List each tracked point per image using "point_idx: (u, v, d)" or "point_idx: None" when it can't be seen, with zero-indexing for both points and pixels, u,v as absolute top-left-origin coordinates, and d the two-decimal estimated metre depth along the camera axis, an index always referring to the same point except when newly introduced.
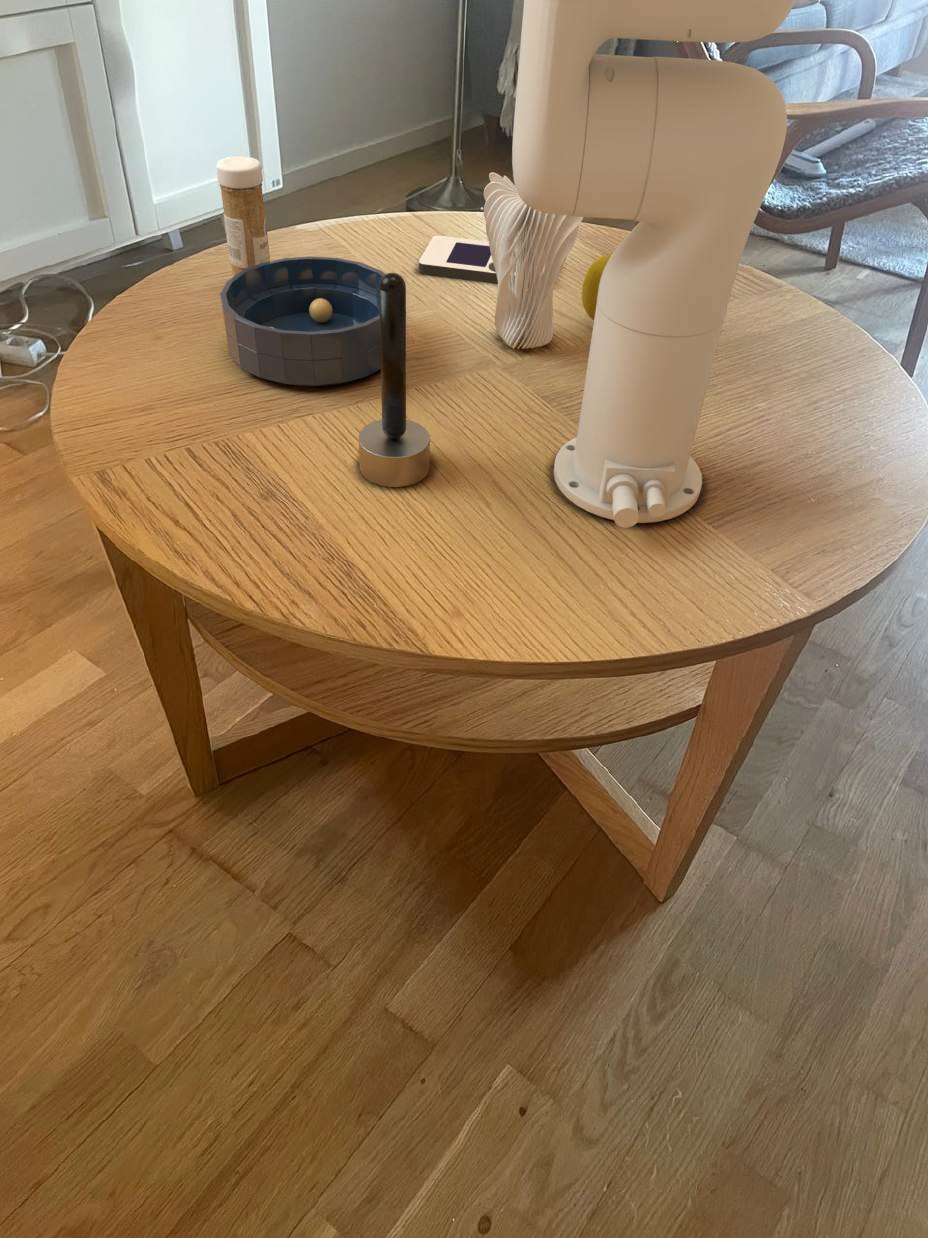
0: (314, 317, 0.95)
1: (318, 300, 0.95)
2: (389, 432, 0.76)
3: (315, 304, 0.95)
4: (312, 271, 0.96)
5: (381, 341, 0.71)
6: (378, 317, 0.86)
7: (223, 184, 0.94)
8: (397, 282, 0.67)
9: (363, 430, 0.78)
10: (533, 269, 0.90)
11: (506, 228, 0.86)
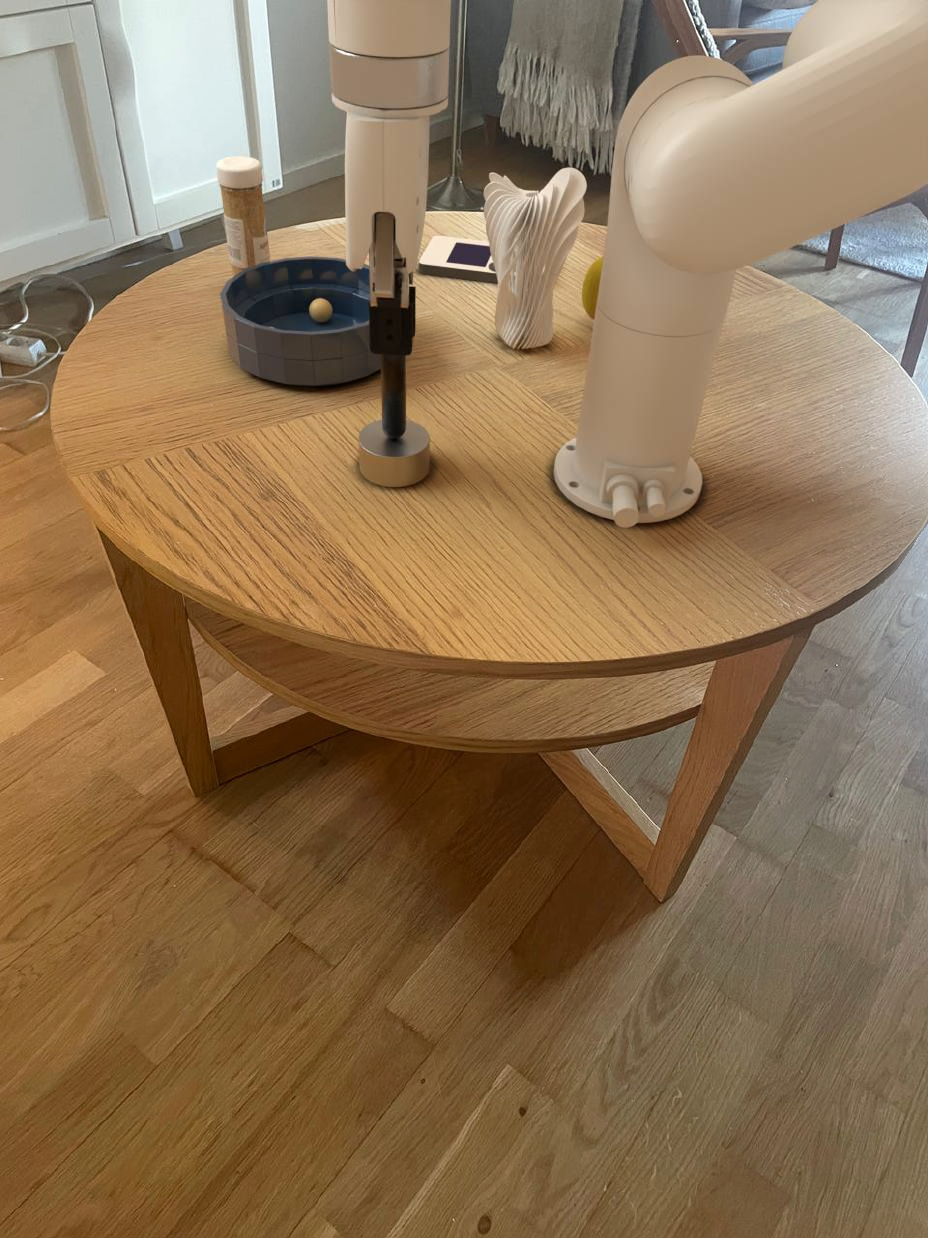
0: (314, 317, 0.95)
1: (318, 300, 0.95)
2: (389, 432, 0.76)
3: (315, 304, 0.95)
4: (312, 271, 0.96)
5: None
6: None
7: (223, 184, 0.94)
8: None
9: (363, 430, 0.78)
10: (533, 269, 0.90)
11: (506, 228, 0.86)
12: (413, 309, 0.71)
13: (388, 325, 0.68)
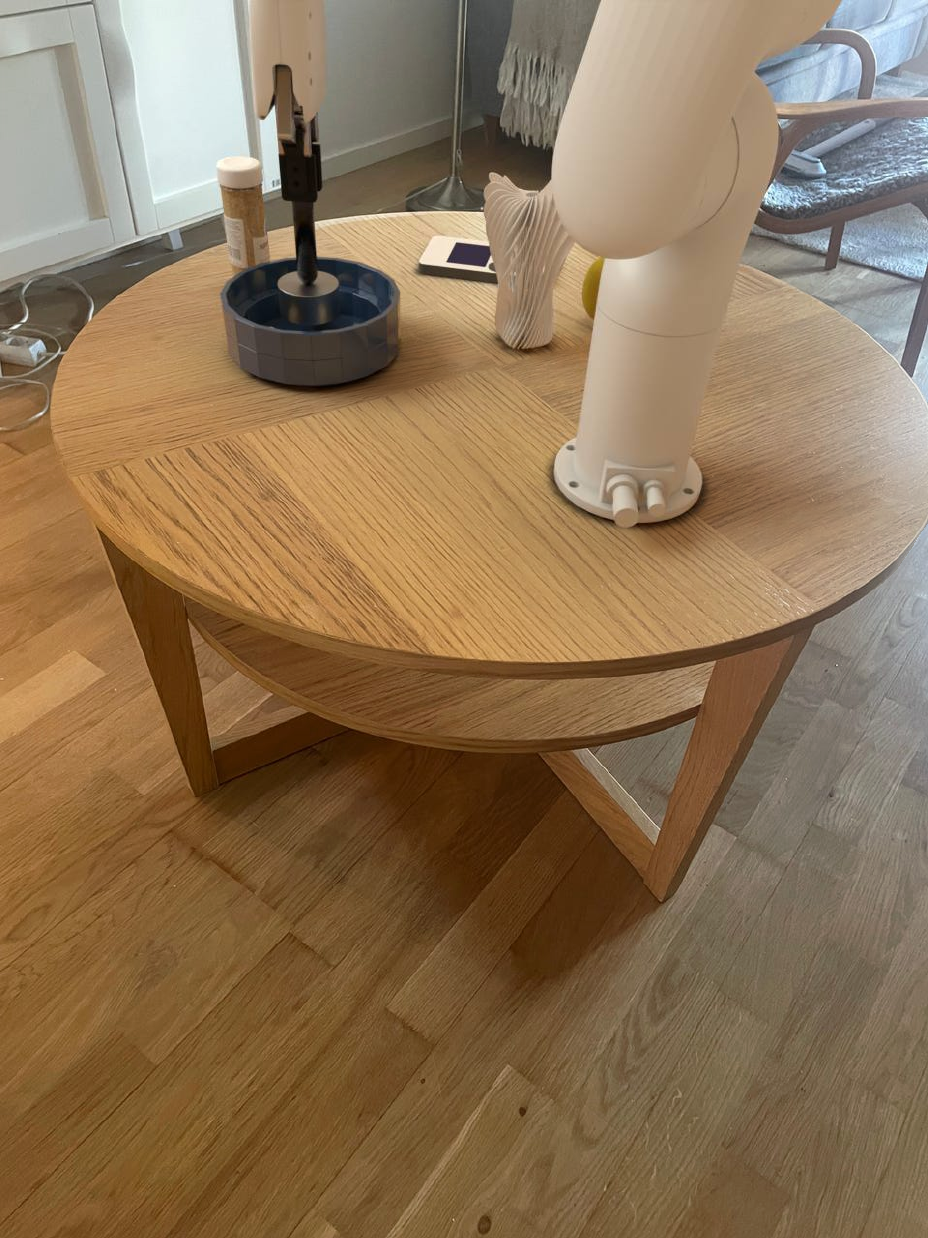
0: None
1: None
2: (303, 276, 0.90)
3: None
4: None
5: None
6: (378, 317, 0.86)
7: (223, 184, 0.94)
8: None
9: (282, 277, 0.92)
10: (533, 269, 0.90)
11: (506, 228, 0.86)
12: (319, 164, 0.84)
13: (295, 172, 0.82)
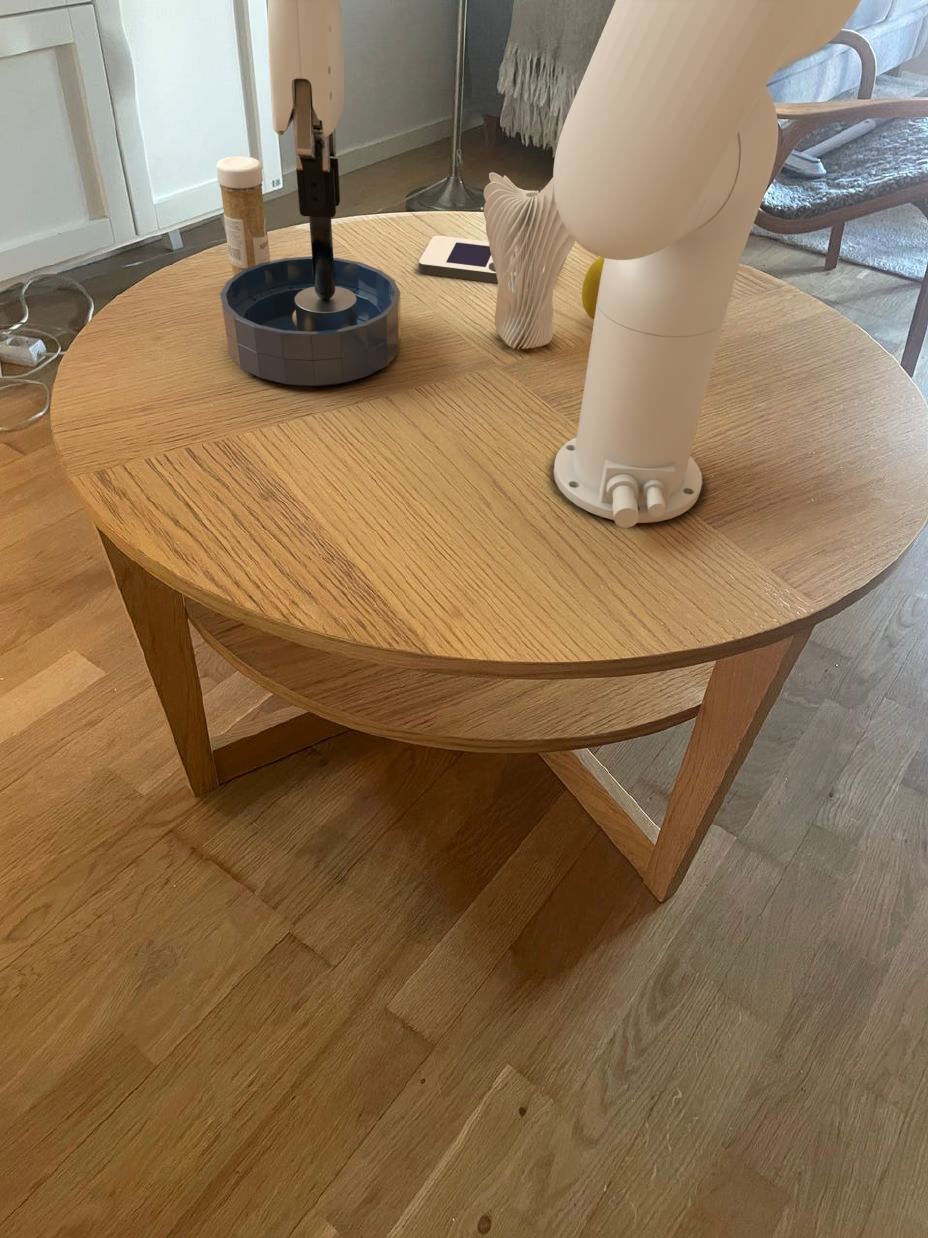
0: None
1: (295, 325, 0.94)
2: (320, 292, 0.88)
3: None
4: (312, 271, 0.96)
5: None
6: (378, 317, 0.86)
7: (223, 184, 0.94)
8: None
9: (299, 293, 0.90)
10: (533, 269, 0.90)
11: (506, 228, 0.86)
12: (336, 179, 0.83)
13: (313, 187, 0.80)
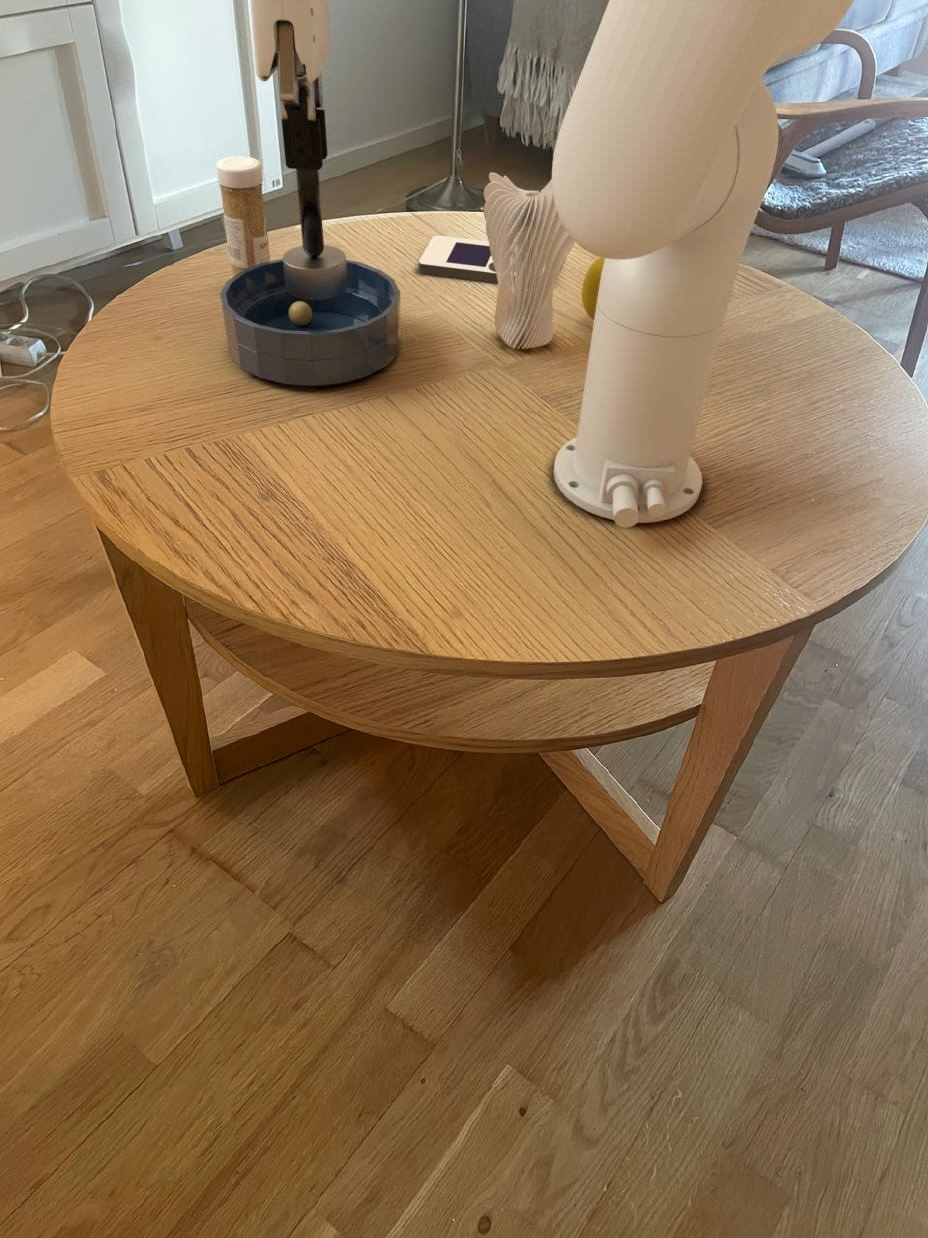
0: None
1: (293, 318, 0.94)
2: (309, 249, 0.87)
3: (296, 323, 0.95)
4: None
5: None
6: (378, 317, 0.86)
7: (223, 184, 0.94)
8: None
9: (287, 252, 0.89)
10: (533, 269, 0.90)
11: (506, 228, 0.86)
12: (323, 130, 0.82)
13: (299, 138, 0.79)
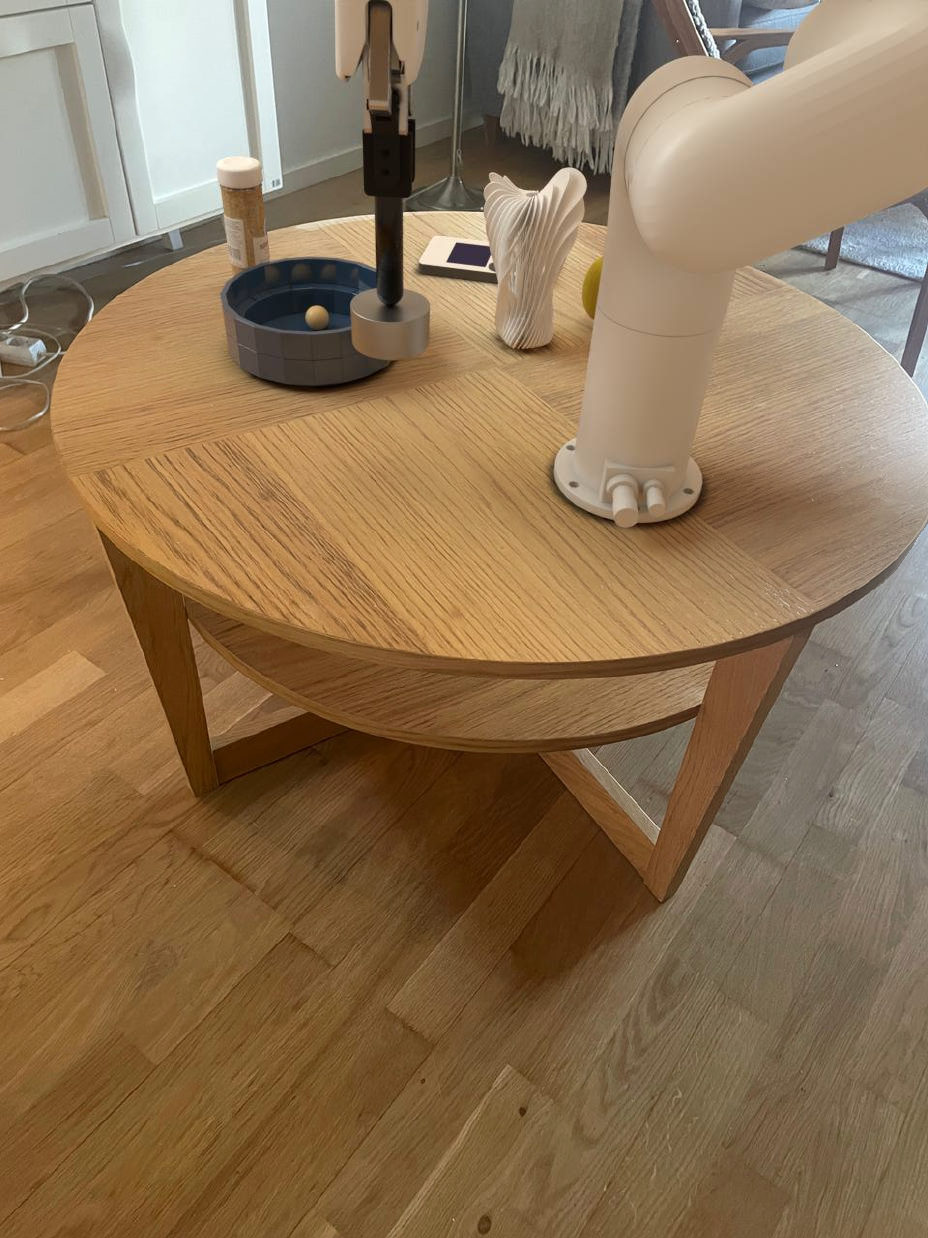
0: None
1: (310, 320, 0.94)
2: (385, 296, 0.68)
3: (306, 320, 0.94)
4: (312, 271, 0.96)
5: None
6: None
7: (223, 184, 0.94)
8: None
9: (355, 297, 0.70)
10: (533, 269, 0.90)
11: (506, 228, 0.86)
12: (413, 147, 0.63)
13: (385, 157, 0.60)
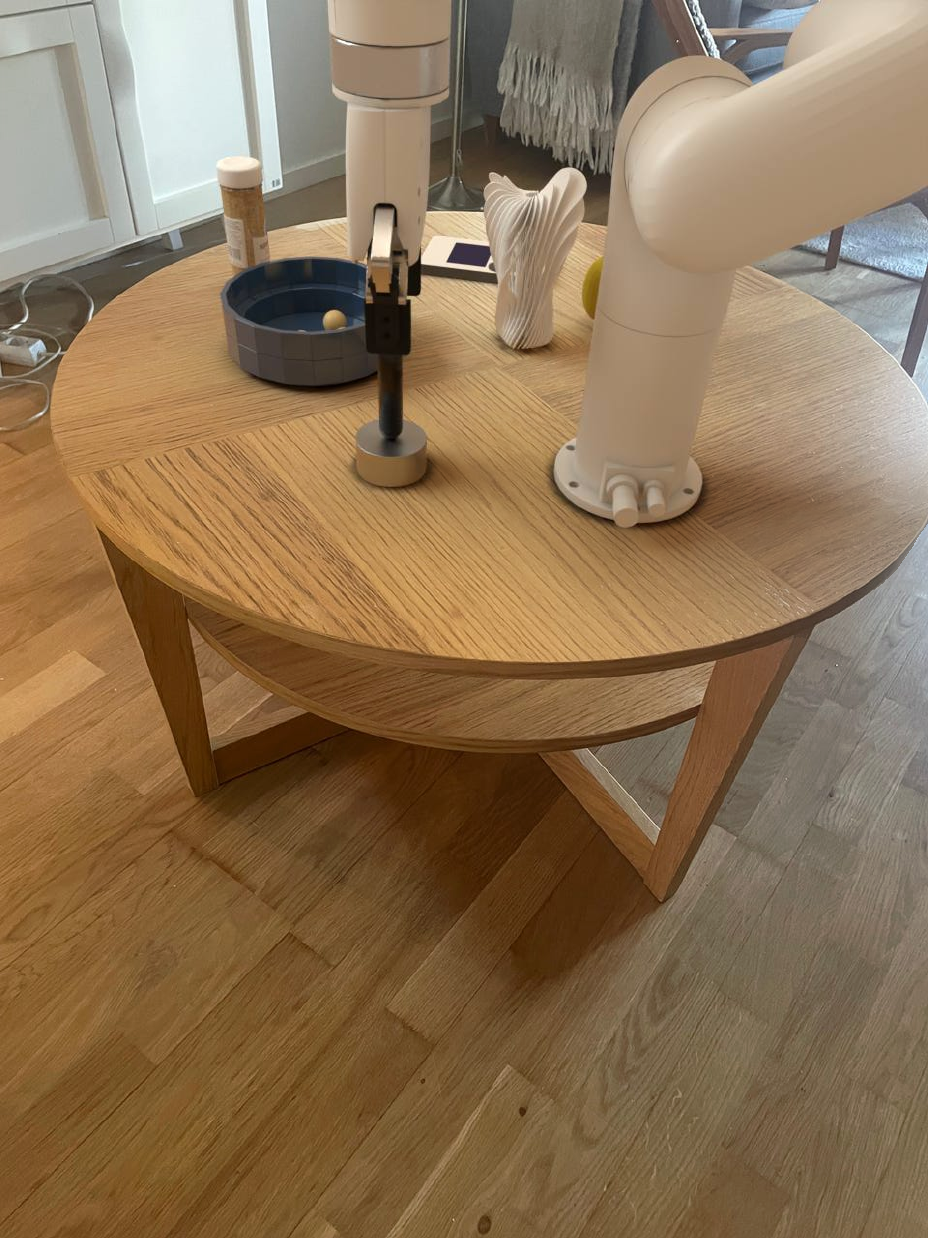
0: (333, 310, 0.93)
1: (330, 326, 0.93)
2: (386, 432, 0.76)
3: (329, 320, 0.93)
4: (312, 271, 0.96)
5: None
6: None
7: (223, 184, 0.94)
8: None
9: (360, 430, 0.78)
10: (533, 269, 0.90)
11: (506, 228, 0.86)
12: (419, 266, 0.72)
13: (385, 323, 0.64)
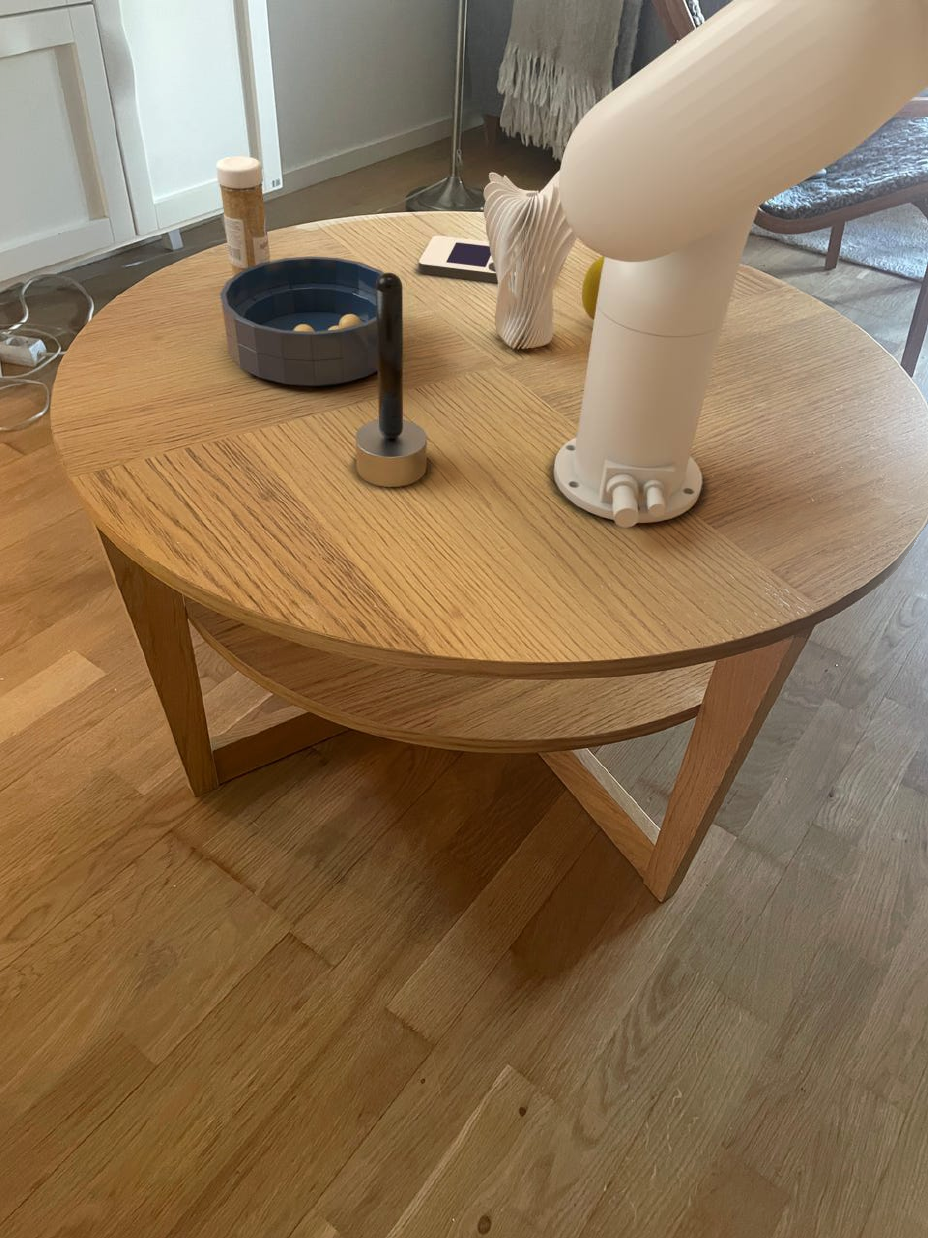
0: None
1: None
2: (386, 432, 0.76)
3: None
4: (312, 271, 0.96)
5: (378, 341, 0.71)
6: None
7: (223, 184, 0.94)
8: (394, 282, 0.67)
9: (360, 430, 0.78)
10: (533, 269, 0.90)
11: (506, 228, 0.86)
12: None
13: None
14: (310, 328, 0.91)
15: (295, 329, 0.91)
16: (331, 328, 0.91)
